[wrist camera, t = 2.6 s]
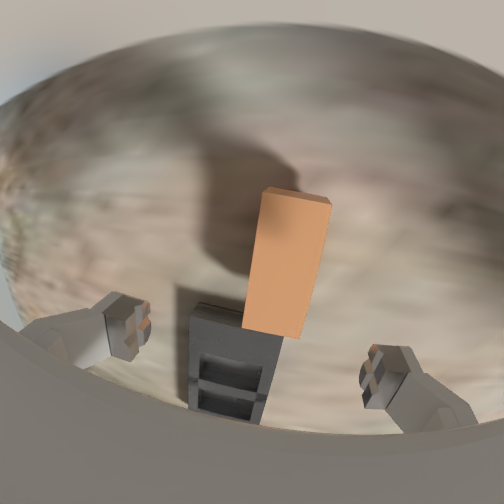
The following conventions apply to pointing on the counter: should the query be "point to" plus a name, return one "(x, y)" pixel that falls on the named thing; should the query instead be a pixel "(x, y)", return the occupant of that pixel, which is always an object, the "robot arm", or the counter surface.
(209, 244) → the counter surface
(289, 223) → the tall tan wood block
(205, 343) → the grey slotted plate
